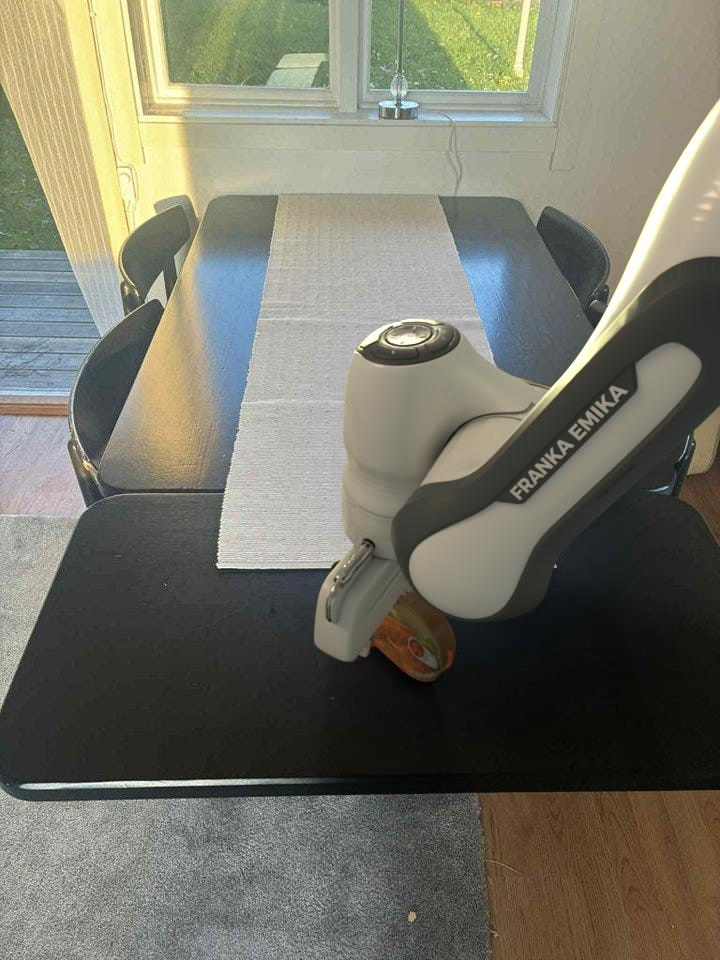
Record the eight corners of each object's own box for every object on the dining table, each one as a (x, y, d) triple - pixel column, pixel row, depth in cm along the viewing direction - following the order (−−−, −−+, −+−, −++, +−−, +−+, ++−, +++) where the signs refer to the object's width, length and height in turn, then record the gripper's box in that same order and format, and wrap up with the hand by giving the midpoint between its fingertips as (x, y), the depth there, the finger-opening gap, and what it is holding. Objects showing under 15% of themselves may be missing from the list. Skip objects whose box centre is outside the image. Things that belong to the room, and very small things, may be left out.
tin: (327, 603, 73) (326, 546, 67) (350, 587, 74) (350, 531, 69) (433, 699, 64) (441, 644, 59) (456, 680, 66) (466, 624, 60)
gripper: (365, 608, 49) (360, 713, 59) (479, 455, 63) (461, 559, 72) (291, 573, 52) (298, 679, 61) (417, 432, 65) (407, 536, 74)
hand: (387, 613), depth 67 cm, fingers open, 8 cm apart
